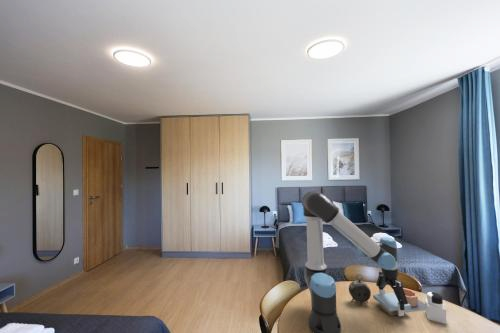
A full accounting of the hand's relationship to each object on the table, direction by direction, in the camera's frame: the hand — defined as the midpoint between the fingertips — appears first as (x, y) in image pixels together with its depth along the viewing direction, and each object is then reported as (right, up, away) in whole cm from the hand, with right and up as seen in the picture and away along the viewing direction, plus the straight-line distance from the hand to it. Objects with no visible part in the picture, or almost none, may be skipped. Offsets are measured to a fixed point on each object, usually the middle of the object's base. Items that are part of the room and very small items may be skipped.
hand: (391, 308), depth 117 cm
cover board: (0, +3, 0) cm, 3 cm away
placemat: (+13, -1, +7) cm, 15 cm away
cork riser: (0, -1, 0) cm, 1 cm away
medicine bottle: (+18, -1, -7) cm, 19 cm away
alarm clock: (-13, -2, +7) cm, 15 cm away
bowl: (+13, -1, +7) cm, 15 cm away
